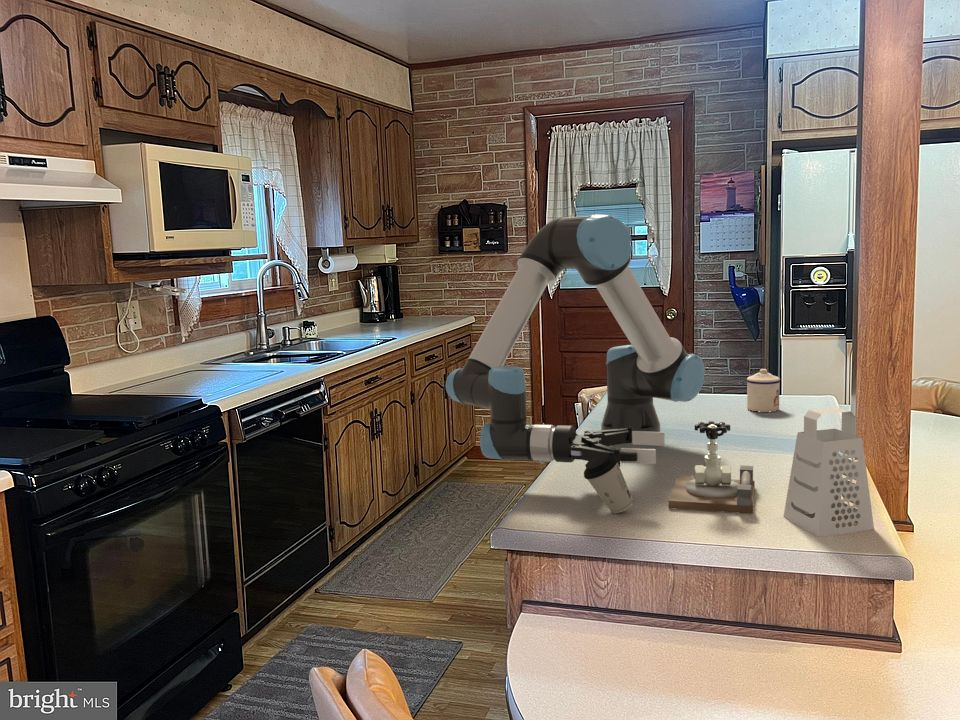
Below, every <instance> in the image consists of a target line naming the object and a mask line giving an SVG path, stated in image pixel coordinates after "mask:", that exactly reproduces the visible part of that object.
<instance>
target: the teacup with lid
mask: <svg viewBox="0 0 960 720" xmlns="http://www.w3.org/2000/svg"><path fill="white" fill-rule="evenodd" d="M780 382H781V378H780V377H778V376H776V375H773V374H772V373H770V372H768V370H767V369H766V368H760V369H759V372H756V373H755V374H753V375H750V376H748V377H747V378H746V385H747V386H746V387H747V391H746V395H747V396H746V397H747V398H746V399H747V401H746V402H747V403H746V405H747V406H746V408H747V410H748V409H749V410H748V411H750V410H752V411H751V412H753V411H760V412H759V413H762V412H768V413H770V412H769V411H775V412H777V411H776V410H778V411H779V410H780Z"/></svg>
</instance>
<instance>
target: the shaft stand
mask: <svg viewBox="0 0 960 720" xmlns="http://www.w3.org/2000/svg"><path fill="white" fill-rule="evenodd" d="M739 466H740V467H739V479H732V478H731V484H730V485H721V484H720V485H717V486H709V485H707V484H705V483H704V485H702V484H695V476H677V477H676V480H675V482H674V485H673V487H672V491H671V493H670V496H669V498H668V503H667V504H668V509H672V508H677V510H687V509H693V510H692V511H702V510H705V512H717V511H724V512H723V513H732V512H739V513H738V514H747V513H752V514H751V515H753V511H754V498H755V487H756V486H755V484H756V483H755V480H754V465H739ZM679 508H680V509H679Z"/></svg>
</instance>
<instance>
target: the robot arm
mask: <svg viewBox="0 0 960 720" xmlns="http://www.w3.org/2000/svg"><path fill="white" fill-rule="evenodd" d="M631 242H632V236H631V234H630V231H629V229H628V227H627V225H625V223H624V222H623V221H622V220H620V218H617V217H615V216H613V215H608V214H600V213H599V214H598V213H596V214H590V215H583V216H563V217H558V218H555V219H553V220H550V221H549V222H547V223H546V224H545V225H543V227H541V228H540V229H539V230H538V231H537V233H535V235H534V236H533V237H532V238H531V239H530V241H529V242H528V244H527V245H526V246H525V247H524V249H523V251H522V252H521V255H520V256H519V258H518V259H517V263H516V264H517V268H518V269H517V270H516V272H515V274H514V276H513V278H512V279H511V281H510V283H509V285H508V287H507V288H506V290H505V292H504V294H503V295H502V297H501V299H500V300H499V303H498V304H497V307H496V308H495V310H494V311H493V314H492V316H491V317H490V319H489V321H488V322H487V324H486V326H485V328H484V330H483V331H482V332H481V333H482V334H481V335H480V336H479V339H478V341H477V342H476V344H475V345H474V347H473V350H472V351H471V354H470V355H469V356H468V358H467V360H466V362H465V364H464V366H463V367H462V368H461V367H460V368H456V369H454V370H453V371H451V372H449V374H448V376H447V377H446V380H445V391H446V393H447V395H448V397H449V398H450V399H451V400H453V401H454V402H458V403H460V404H462V405H469V406H473V407H474V406H475V407H478V408H483V409H487V410H489V411H490V422H487V423H485V424H483V426H482V427H481V431H480V439H479V446H480V450H481V453H482V455H483V456H484V457H486V458H487V459H492V460H493V459H495V460H501V461H533V462H534V461H535V462H537V461H539V463H540V464H545V462H553V461H555V462H556V463H574V461H575V460H579V461H584V462H585V461H586V462H588V461H590V460H591V459H592V458H595V457H597V456H600V455H603V454H607V455H608V456H614V457H615V458H616V459H617V460H618V465H619V467H620V468H621V463H622V464H623V463H624V464H641V465H642V464H644V465H645V464H646V465H656V464H657V452H656V451H657V449H655V448H639V447H638V448H635V447H634V448H633V447H621V448H620V449H618V448H615V447H613V446H619V445H625V444H631V445H635V446H662V447H663V446H665V444H666V443H665V441H666V439H665V436H666V435H665V431H661V421H660V420H659V417H658V413H657V410H656V408H655V405H654V398H655V399H660V400H666V401H669V402H670V401H671V402H674V403H675V402H676V403H678V402H680V403H681V402H683V403H686V402H690V401H693V399H695V398H696V397H697V395H699V393H700V392H701V390H702V387H703V384H704V381H705V375H706V369H705V364H704V361H703V359H702V357H700V356H699V355H697V354H695V353H688V352H687V351H686V350H685V348H684V346H683V345H682V342H680V340H679V339H677V338H676V337H670V335H669V333H668V332H667V330H666V328H665V327H664V325H663V323H662V321H661V319H660V318H659V316H658V314H657V313H656V311H655V310H654V308H653V305H652V304H651V303H650V300H649V299H648V298H647V296H646V294H645V292H644V290H643V289H642V287H641V285H640V284H639V282H638V280H637V278H636V276H635V275H634V273H633V271H632V270H631V268H630V264H631V262H632V261H631V260H632V257H631V254H632V249H633V246H632V244H631ZM564 270H576V271H577V272H578V274H579V275H580V277H581V278H582V280H583V281H584V283H585V284H586V285H587V286H590V287H595V288H596V290H597V291H598V293H599V294H600V296H601V297H602V299H603V301H604V303H605V304H606V305H607V307H608V309H609V311H610V312H611V313H612V315H613V317H614V319H615V320H616V322H617V324H618V325H619V327H620V329H621V330H622V332H623V333H624V335H625V336H626V338H627V340H628V341H629V342H630V344H626V345H619V346H618V345H617V346H613V347H611V348H609V349H608V350H607V352H606V362H605V366H606V392H607V393H606V394H607V402H606V403H607V404H606V408H605V411H604V415H603V418H602V421H601V425H600V426H601V430H600V429H599V430H588V429H587V430H585V431H584V432H583V433H584V434H579V435H578V433H577V430H576V427H575V426H574V425H566V424H565V425H564V424H563V425H562V424H560V425H559V424H558V425H556V426H555V425H553V424H529V423H528V421H527V420H528V418H527V385H526V379H525V370H524V369H523V368H521V367H520V366H516V365H505V363H506V360H507V359H508V358H509V356H510V354H511V352H512V350H513V348H514V346H515V344H516V342H517V341H518V339H519V338H520V335H521V333H522V331H523V329H524V328H525V326H526V324H527V323H528V320H529V319H530V317H531V316H532V313H533V312H534V310H535V308H536V306H537V304H538V302H539V300H540V298H541V297H542V295H543V293H544V291H545V289H546V288H547V286H548V285H551V284H553V283H554V282H555V281H556V280H557V279H556V278H557V277H558V275H559V274H560V273H561V272H562V271H564Z"/></svg>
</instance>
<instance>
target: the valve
mask: <svg viewBox="0 0 960 720" xmlns="http://www.w3.org/2000/svg"><path fill="white" fill-rule="evenodd" d="M694 431H697V432H698V431H699V433H700V434H706V438H707V439H708V440H709V442H707V443H706V445H707V446H706V447H707V451H708V453H707V455H704V463H706V464H705V466H704V465H702V464H701V465H700V464H699V465H698V464H697V465H695V466H694V473H693V474H694V477H695V484H702V485H704V483H705V484H707V485H709V486H717V485H720V484H721V485H730V484H731V479H732V469H731V466H730V465H721V466H720V463H721V460H722V459H721V457H722V456H720V455H719V454H718V452H717V451H718V447H719V445H718V443H717V442H716V440H717V439H718V438H719V437H721V436H724V434H727V433H728V432H729V431H731V424H726V422H723V421H721V422H717V423H716V422H715V421H711V420H710V421H708V422H702V421H700V422H698V424H696V423H695V425H694Z"/></svg>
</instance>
